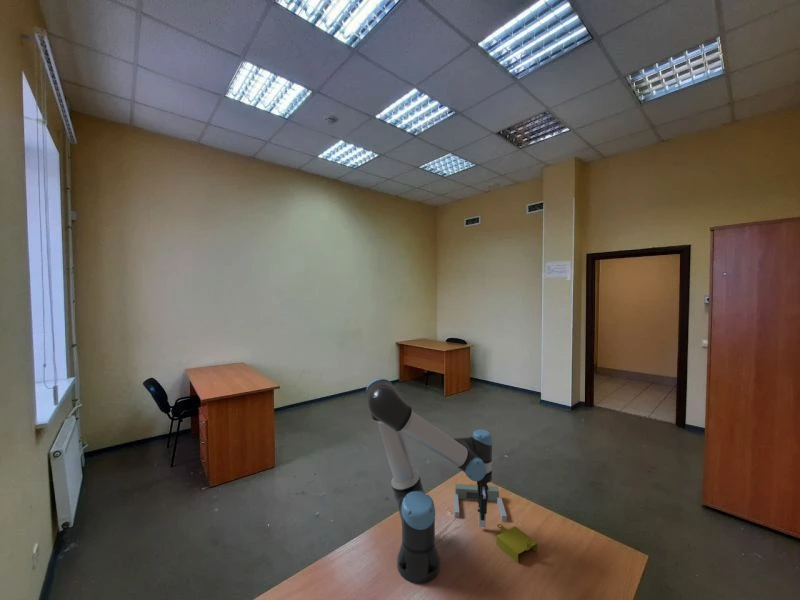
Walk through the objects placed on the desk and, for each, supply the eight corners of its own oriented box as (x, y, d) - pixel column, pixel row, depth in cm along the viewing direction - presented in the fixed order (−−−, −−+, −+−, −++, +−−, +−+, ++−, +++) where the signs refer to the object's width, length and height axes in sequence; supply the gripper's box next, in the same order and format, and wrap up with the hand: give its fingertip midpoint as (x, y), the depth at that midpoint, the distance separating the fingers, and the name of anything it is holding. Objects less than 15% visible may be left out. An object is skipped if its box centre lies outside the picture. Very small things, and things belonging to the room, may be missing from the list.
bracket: (511, 509, 137) (542, 532, 124) (511, 527, 137) (542, 552, 124) (483, 522, 129) (514, 548, 116) (483, 541, 130) (514, 569, 117)
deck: (454, 517, 144) (454, 503, 143) (453, 493, 160) (453, 481, 160) (506, 521, 141) (506, 507, 141) (499, 496, 158) (499, 484, 158)
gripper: (494, 478, 128) (494, 538, 129) (489, 461, 141) (489, 515, 142) (474, 477, 129) (474, 536, 130) (471, 460, 142) (471, 514, 143)
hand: (482, 525), depth 136 cm, fingers closed
